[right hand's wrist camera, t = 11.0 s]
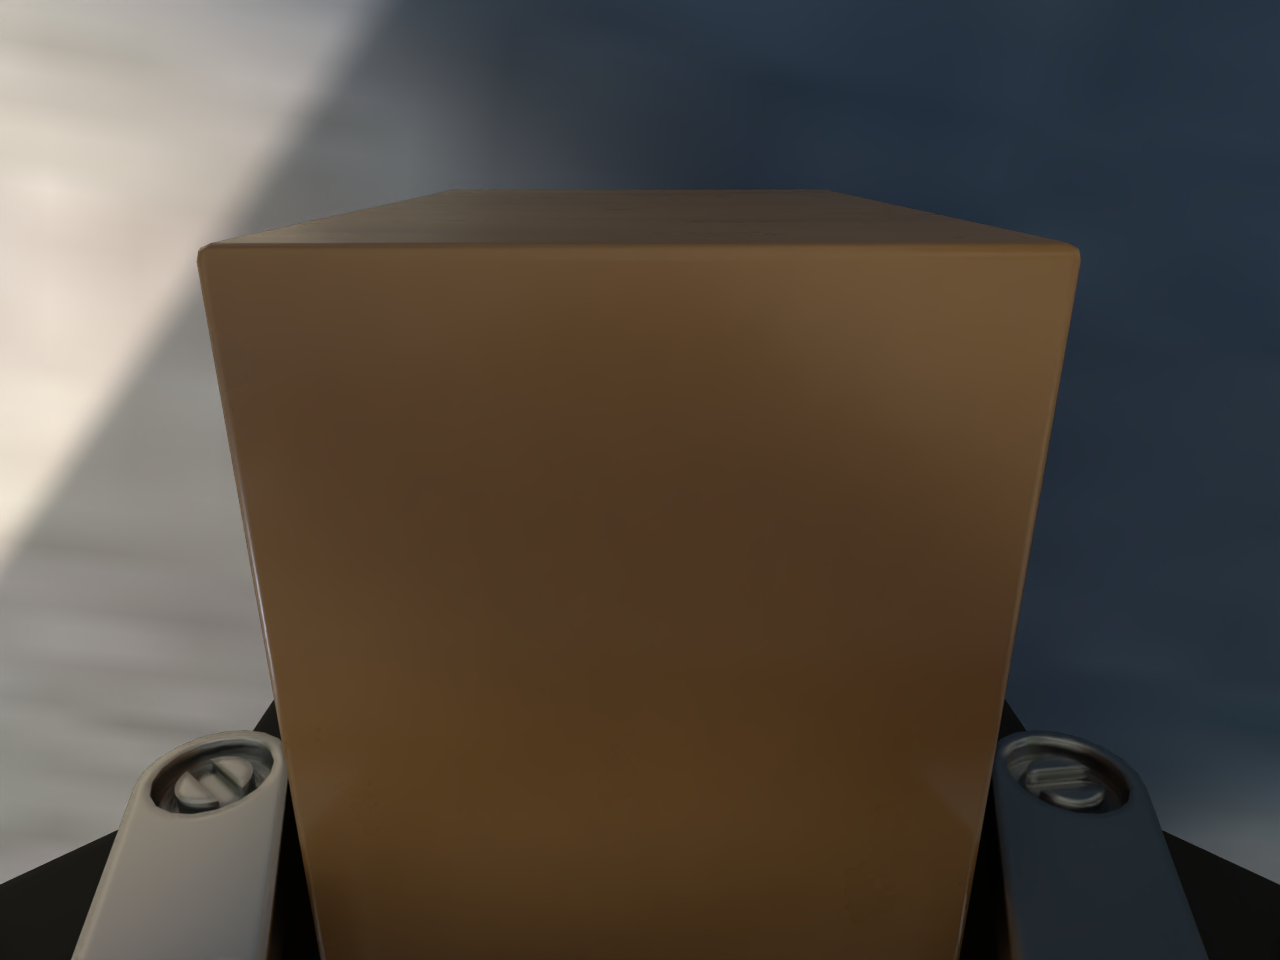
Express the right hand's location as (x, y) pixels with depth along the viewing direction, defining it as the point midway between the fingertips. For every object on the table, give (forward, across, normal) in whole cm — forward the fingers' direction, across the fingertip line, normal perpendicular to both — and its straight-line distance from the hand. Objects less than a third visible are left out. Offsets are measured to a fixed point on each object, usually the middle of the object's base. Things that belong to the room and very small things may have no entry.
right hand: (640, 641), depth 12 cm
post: (+2, 0, -25) cm, 25 cm away
